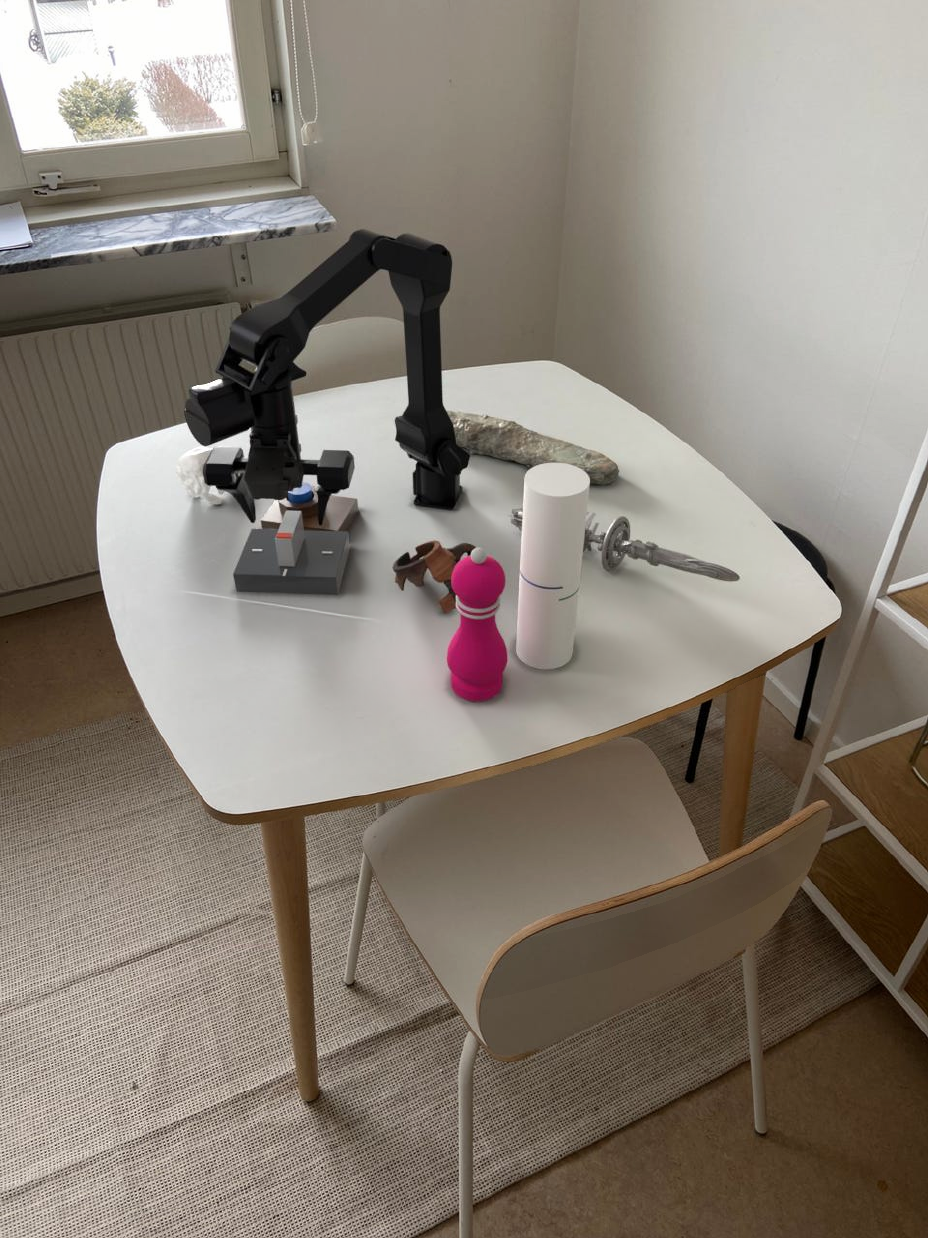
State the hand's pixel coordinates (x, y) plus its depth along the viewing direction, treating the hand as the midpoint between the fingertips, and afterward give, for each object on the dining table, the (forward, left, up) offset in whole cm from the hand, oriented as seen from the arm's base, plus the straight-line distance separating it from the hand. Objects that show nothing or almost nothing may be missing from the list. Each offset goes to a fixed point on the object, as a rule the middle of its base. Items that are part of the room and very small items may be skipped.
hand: (287, 522), depth 125 cm
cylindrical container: (-37, +9, -8) cm, 39 cm away
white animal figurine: (+19, -17, -8) cm, 27 cm away
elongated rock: (-25, -39, -8) cm, 47 cm away
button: (+3, -13, -4) cm, 14 cm away
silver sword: (-44, -11, -8) cm, 46 cm away
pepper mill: (-30, +17, -8) cm, 35 cm away
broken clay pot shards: (-21, 0, -8) cm, 23 cm away
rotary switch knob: (0, 0, -5) cm, 5 cm away
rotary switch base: (0, 0, -8) cm, 8 cm away
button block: (+2, -12, -8) cm, 15 cm away
